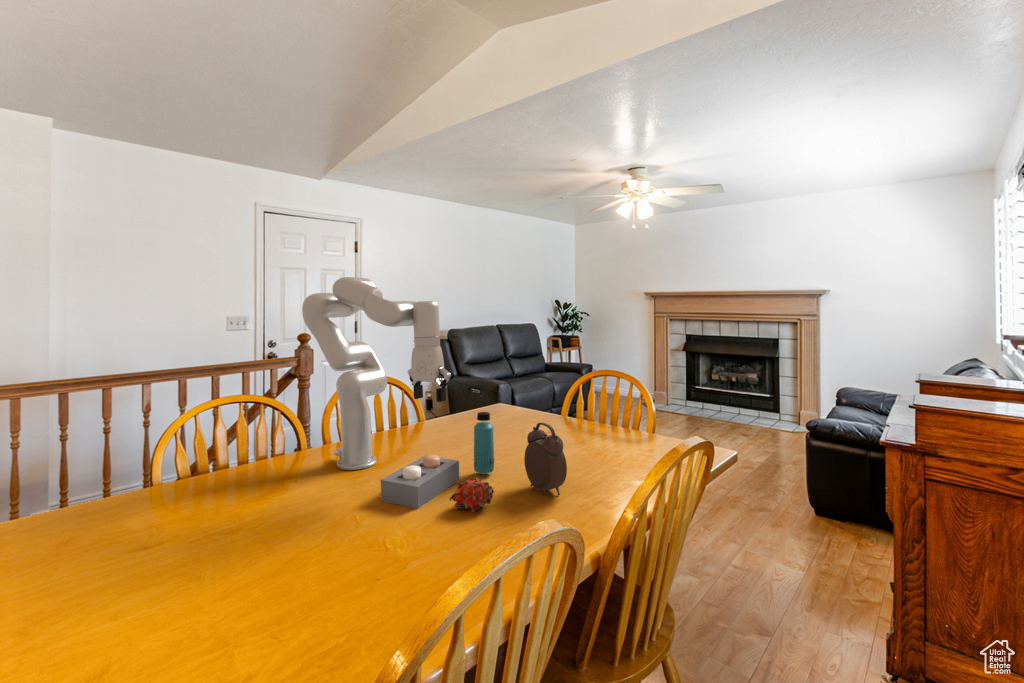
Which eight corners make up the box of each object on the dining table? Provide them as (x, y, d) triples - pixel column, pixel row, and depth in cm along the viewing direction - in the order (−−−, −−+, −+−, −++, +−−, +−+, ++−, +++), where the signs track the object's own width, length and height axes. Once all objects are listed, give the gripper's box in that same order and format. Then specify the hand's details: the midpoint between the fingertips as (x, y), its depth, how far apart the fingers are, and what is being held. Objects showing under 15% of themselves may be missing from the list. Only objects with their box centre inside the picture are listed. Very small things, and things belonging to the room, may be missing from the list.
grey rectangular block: (381, 500, 129) (380, 479, 128) (425, 473, 149) (425, 455, 149) (418, 508, 124) (417, 486, 124) (459, 479, 145) (459, 460, 144)
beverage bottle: (491, 479, 145) (491, 415, 143) (470, 477, 146) (470, 414, 145) (496, 471, 152) (496, 410, 150) (476, 470, 153) (476, 409, 151)
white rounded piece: (399, 484, 131) (399, 470, 130) (409, 477, 135) (409, 464, 135) (414, 487, 129) (414, 473, 128) (424, 480, 133) (424, 467, 133)
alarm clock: (570, 497, 132) (571, 428, 130) (549, 502, 129) (550, 431, 127) (542, 480, 145) (542, 416, 143) (521, 484, 141) (522, 419, 139)
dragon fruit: (497, 512, 126) (453, 524, 123) (489, 485, 132) (447, 495, 129) (498, 496, 120) (452, 507, 117) (490, 468, 126) (445, 478, 123)
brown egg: (419, 472, 140) (419, 459, 139) (429, 466, 144) (429, 454, 144) (434, 474, 138) (434, 461, 137) (443, 469, 142) (443, 456, 142)
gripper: (398, 343, 141) (400, 399, 143) (438, 344, 131) (441, 404, 132) (416, 341, 147) (419, 395, 149) (457, 342, 137) (459, 400, 138)
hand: (429, 399), depth 140 cm, fingers open, 9 cm apart
